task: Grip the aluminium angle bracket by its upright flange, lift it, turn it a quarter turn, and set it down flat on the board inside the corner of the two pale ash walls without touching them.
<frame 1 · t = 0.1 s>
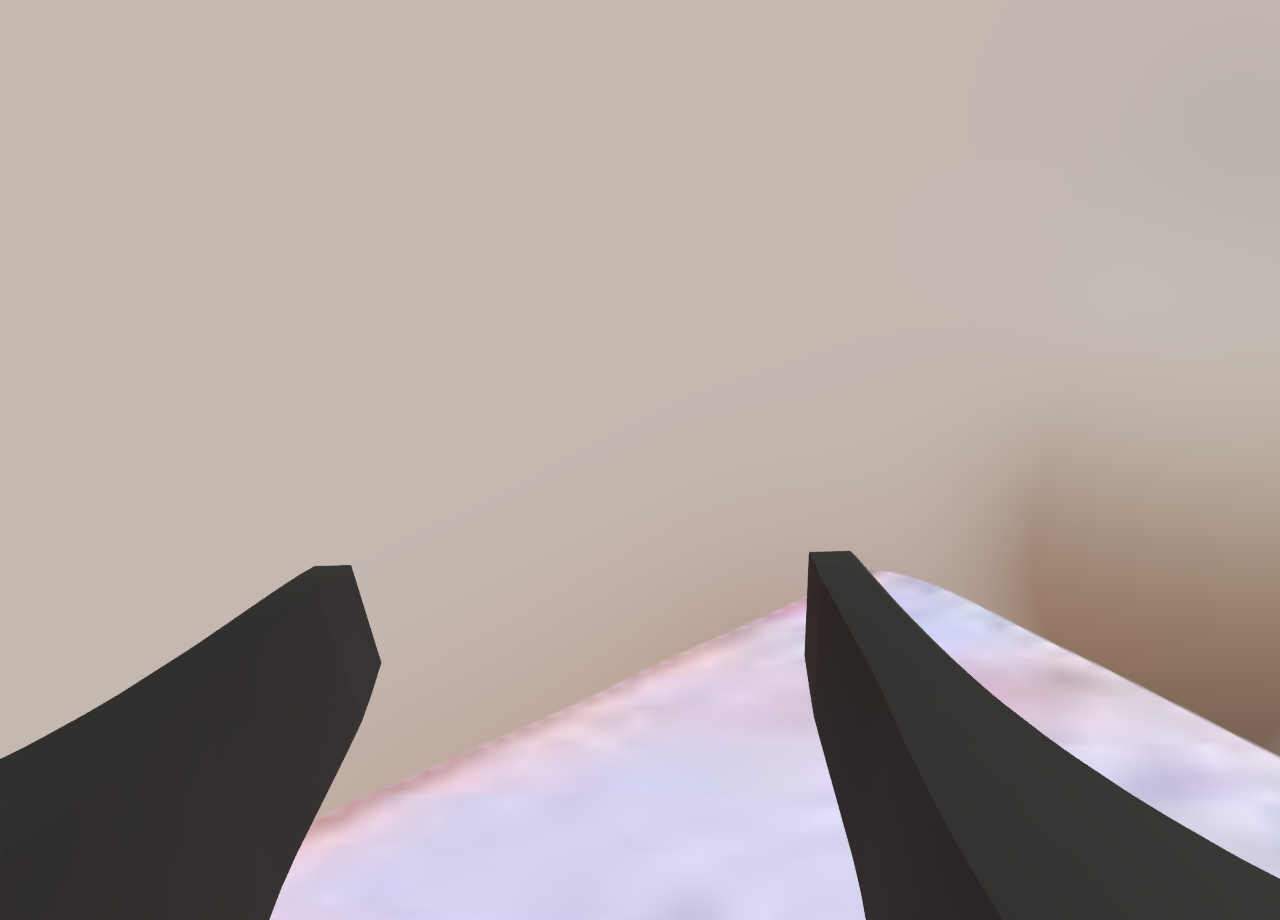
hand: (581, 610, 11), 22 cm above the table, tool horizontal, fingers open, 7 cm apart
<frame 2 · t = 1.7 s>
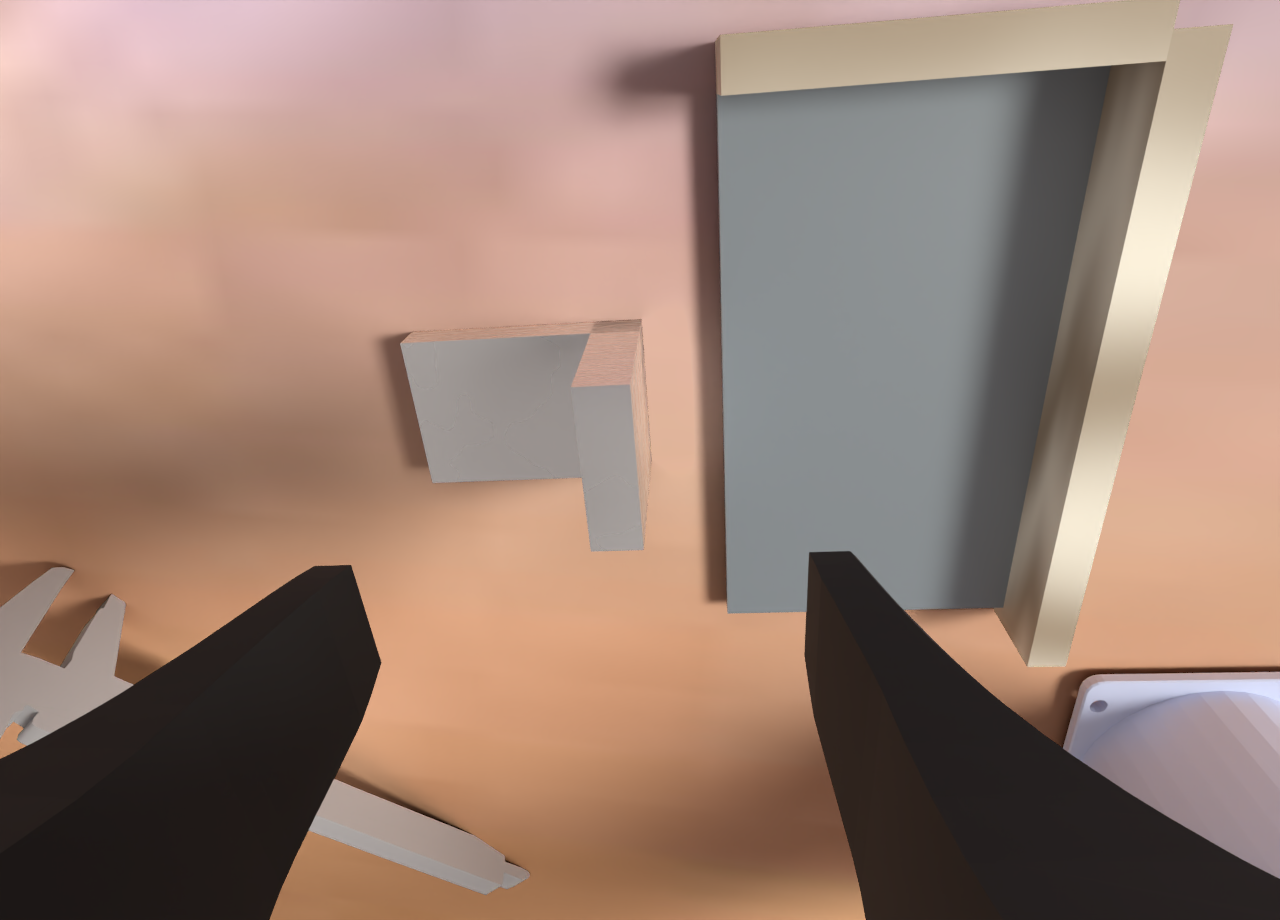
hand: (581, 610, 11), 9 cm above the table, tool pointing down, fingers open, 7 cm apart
side wall: (904, 52, 15), on the table
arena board: (877, 382, 19), on the table
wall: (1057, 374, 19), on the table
caliper: (321, 731, 27), on the table
bracket: (536, 396, 20), on the table
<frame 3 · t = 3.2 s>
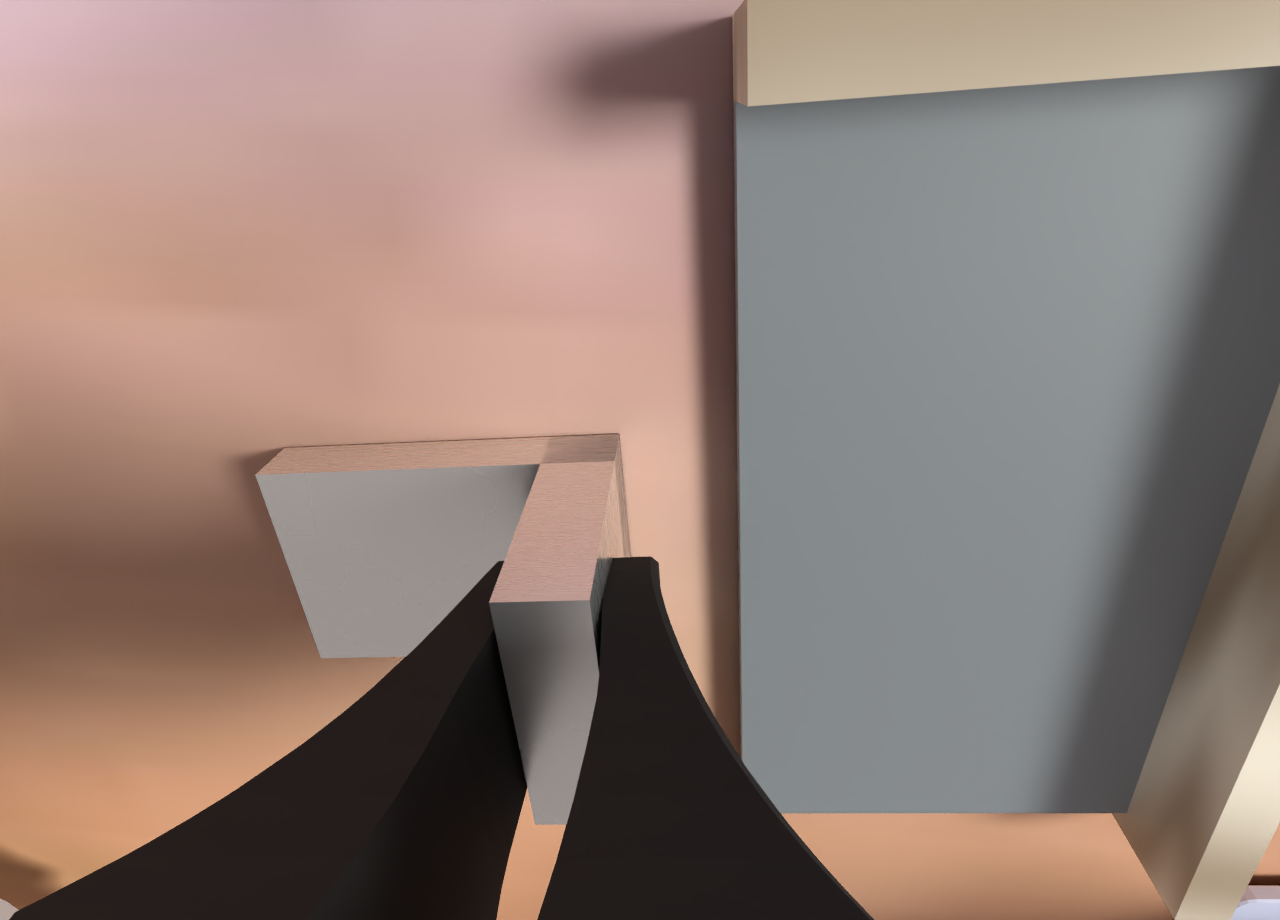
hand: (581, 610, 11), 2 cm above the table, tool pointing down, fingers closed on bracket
side wall: (1042, 33, 9), on the table
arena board: (965, 521, 13), on the table
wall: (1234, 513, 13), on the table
bracket: (469, 536, 14), on the table, touching gripper
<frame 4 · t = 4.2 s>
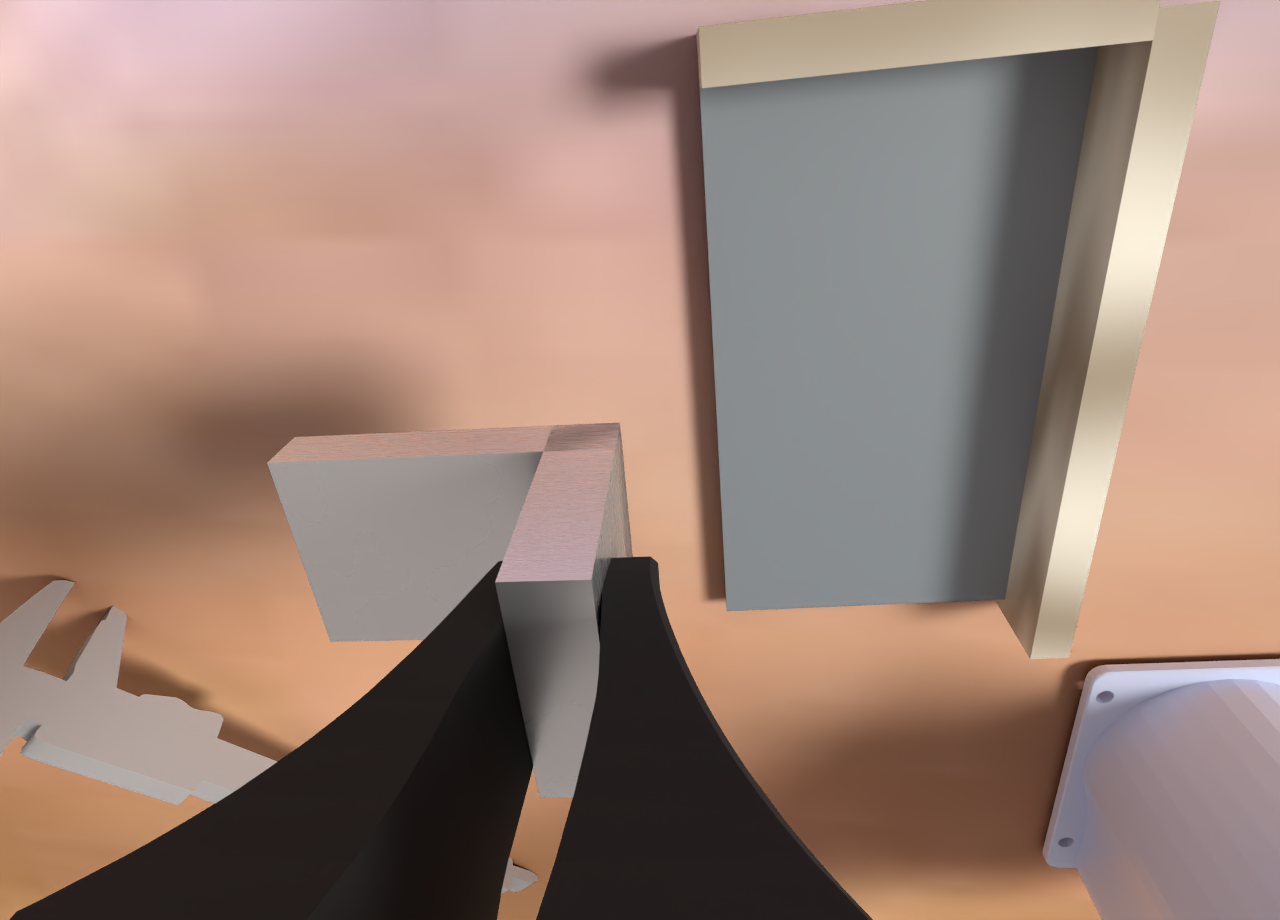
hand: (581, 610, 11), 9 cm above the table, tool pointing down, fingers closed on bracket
side wall: (888, 39, 15), on the table
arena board: (870, 374, 19), on the table
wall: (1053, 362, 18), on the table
caliper: (325, 738, 27), on the table
bracket: (474, 523, 14), point 6 cm above the table, touching gripper
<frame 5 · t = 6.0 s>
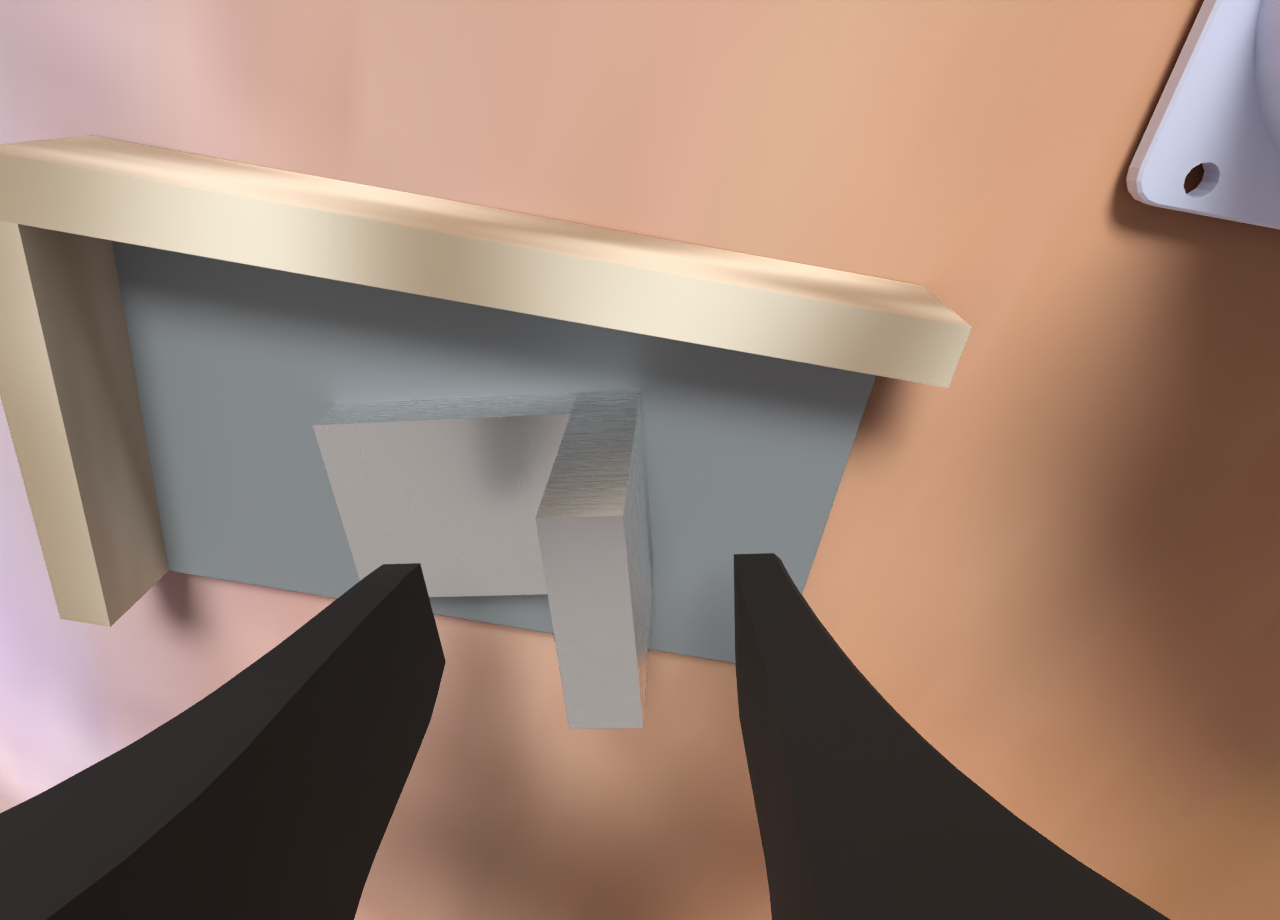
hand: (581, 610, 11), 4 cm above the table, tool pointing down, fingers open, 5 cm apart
side wall: (136, 395, 15), on the table
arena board: (494, 456, 15), on the table
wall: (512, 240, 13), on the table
bracket: (501, 486, 15), point 1 cm above the table, touching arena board
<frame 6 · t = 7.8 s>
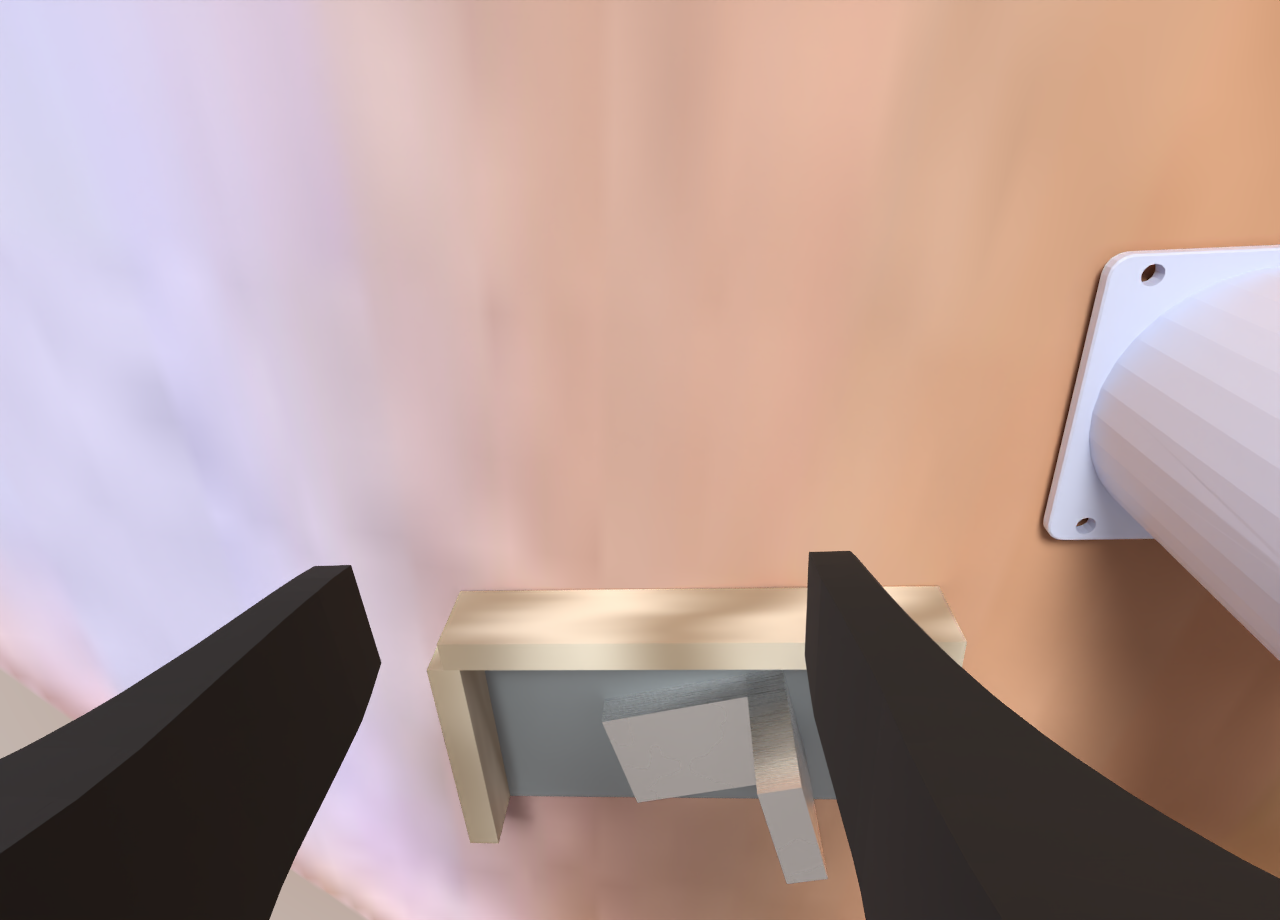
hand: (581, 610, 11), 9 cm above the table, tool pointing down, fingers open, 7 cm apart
side wall: (484, 704, 26), on the table
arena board: (696, 704, 25), on the table
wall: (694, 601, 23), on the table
bracket: (706, 725, 25), point 1 cm above the table, touching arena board
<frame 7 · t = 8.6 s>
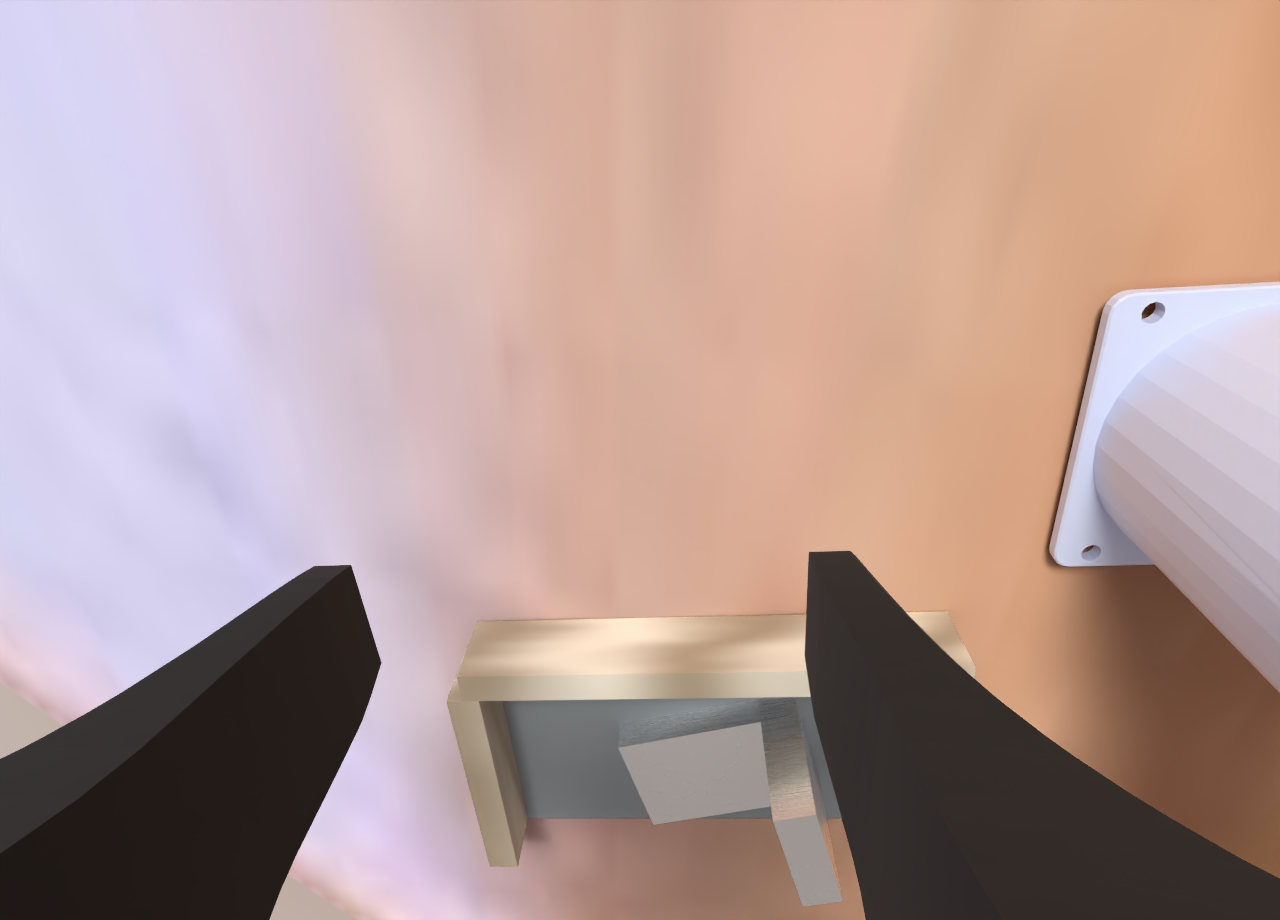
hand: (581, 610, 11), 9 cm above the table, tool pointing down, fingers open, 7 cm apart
side wall: (501, 730, 26), on the table
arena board: (710, 728, 26), on the table
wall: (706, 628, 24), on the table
bracket: (720, 748, 25), point 1 cm above the table, touching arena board
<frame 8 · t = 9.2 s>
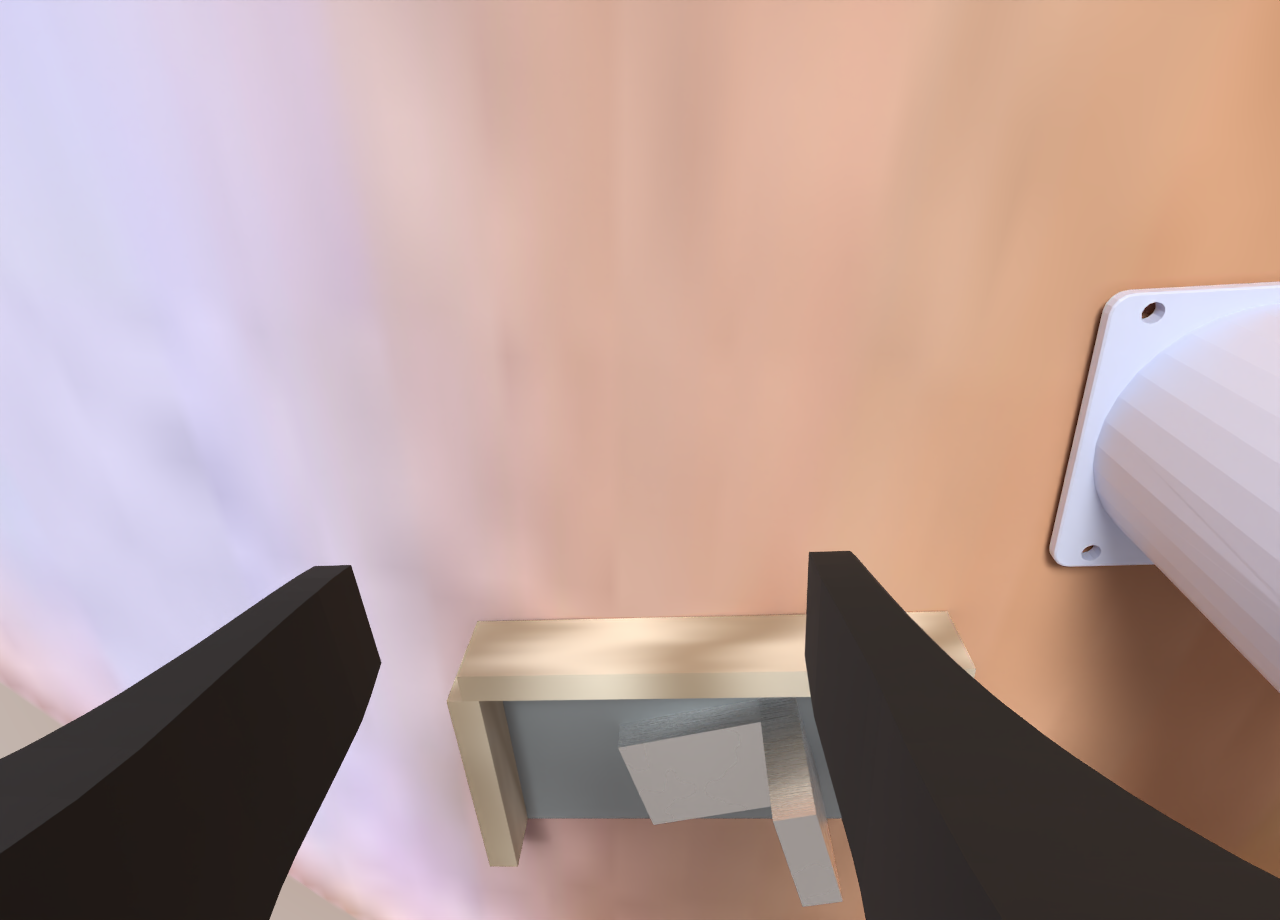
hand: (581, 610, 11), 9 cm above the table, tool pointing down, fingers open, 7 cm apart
side wall: (501, 730, 26), on the table
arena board: (710, 728, 26), on the table
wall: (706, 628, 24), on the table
bracket: (720, 748, 25), point 1 cm above the table, touching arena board
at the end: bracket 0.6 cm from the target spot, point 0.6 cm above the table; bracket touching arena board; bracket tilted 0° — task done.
